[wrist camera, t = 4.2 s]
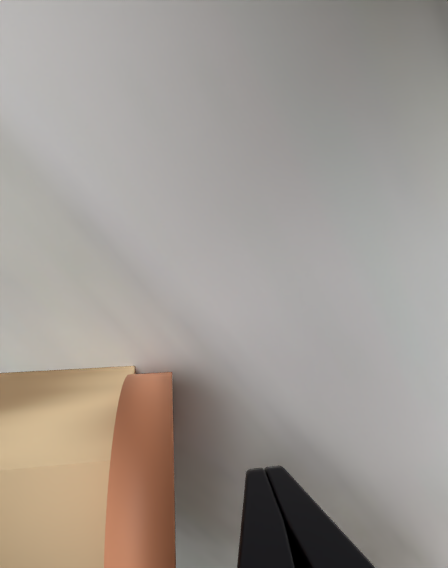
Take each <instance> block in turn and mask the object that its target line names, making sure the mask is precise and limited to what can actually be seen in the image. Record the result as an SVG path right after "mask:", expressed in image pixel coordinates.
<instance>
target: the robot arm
mask: <svg viewBox="0 0 448 568" xmlns="http://www.w3.org/2000/svg"><path fill="white" fill-rule="evenodd" d="M237 568H375V567H374V566H373V565H372V564H371V562H370V561H369V560H368V559H367V558H366V557H365V556H364V555H363V554H362V553H361V552H360V550H359V549H358V548H357V547H356V546H355V545H354V544H353V543H352V542H351V541H350V540H349V538H348V537H347V536H346V535H345V534H344V533H343V532H342V531H341V530H340V529H339V528H338V526H337V525H336V524H335V523H334V522H333V521H332V520H331V519H330V518H329V517H328V516H327V514H326V513H325V512H324V511H323V510H322V509H321V508H320V507H319V506H318V505H317V504H316V503H315V501H314V500H313V499H312V498H311V497H310V496H309V495H308V494H307V493H306V492H305V491H304V489H303V488H302V487H301V486H300V485H299V484H298V483H297V482H296V481H295V480H294V479H293V477H292V476H291V475H290V474H289V473H288V472H287V471H286V470H285V469H284V468H283V467H282V466H272V467H266V468H265V469H263V468H254V469H248V470H247V472H246V480H245V491H244V501H243V512H242V523H241V533H240V544H239V554H238V565H237Z"/></svg>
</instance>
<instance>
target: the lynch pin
mask: <svg viewBox="0 0 448 568" xmlns="http://www.w3.org/2000/svg"><path fill="white" fill-rule="evenodd" d="M0 568H176V552H175V495H174V440H173V390H172V372H164V373H147V374H135V366H124V367H105V368H87V369H68V370H50V371H32V372H13V373H0Z"/></svg>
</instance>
